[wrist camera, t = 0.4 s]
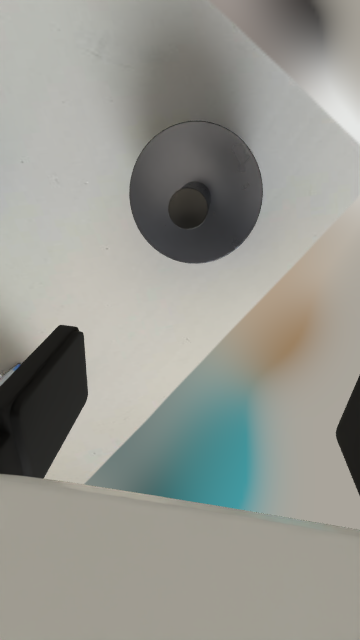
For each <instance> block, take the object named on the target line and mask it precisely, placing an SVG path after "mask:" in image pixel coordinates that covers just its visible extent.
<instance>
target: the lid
mask: <svg viewBox="0 0 360 640" xmlns="http://www.w3.org/2000/svg"><path fill="white" fill-rule="evenodd" d="M129 195H130V205H131V210H132V214H133V217H134V220H135V222H136V225H137V227H138V229H139V230H140V232H141V234H142V235H143V237H144V238H145V239H146V240H147V242H148V243H149V244H150V245H151V246H152V247H153V248H155V249H156V250H157V251H159V252H160V253H161V254H163V255H165V256H167V257H169V258H171V259H173V260H176V261H180V262H184V263H197V264H198V263H207V262H211V261H215V260H217V259H220V258H222V257H224V256H226V255H228V254H230V253H231V252H232V251H234V250H235V249H236V248H238V247H239V246H240V245H241V244H242V243H243V242H244V241H245V239H246V238H247V237H248V236H249V234H250V233H251V231H252V230H253V228H254V226H255V224H256V222H257V219H258V216H259V213H260V209H261V205H262V196H263V188H262V179H261V174H260V170H259V167H258V164H257V162H256V160H255V157H254V156H253V154H252V152H251V151H250V149H249V148H248V146H247V145H246V144H245V143H244V142H243V141H242V140H241V139H240V138H239V137H238V136H237V135H236V134H234V133H233V132H231V131H230V130H228V129H227V128H225V127H222V126H220V125H218V124H214V123H211V122H205V121H188V122H183V123H179V124H176V125H173V126H171V127H169V128H167V129H165V130H163V131H162V132H160V133H159V134H158V135H156V136H155V137H154V138H153V139H152V140H151V141H150V142H149V143H148V144H147V145H146V147H145V148H144V149H143V150H142V152H141V154H140V155H139V157H138V159H137V161H136V163H135V166H134V169H133V172H132V175H131V181H130V193H129Z"/></svg>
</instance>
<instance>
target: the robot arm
mask: <svg viewBox="0 0 360 640" xmlns="http://www.w3.org/2000/svg"><path fill="white" fill-rule="evenodd" d="M87 396H88V388H87V374H86V361H85V347H84V335H83V332H79V330H78V328H77V327H73V326H65V325H59V326H58V327H57V328H56V329H55V330H54V331H53V332H52V333H51V334H50V335H49V336H48V337H47V338H46V339H45V341H44V342H43V343H42V344H41V345H40V346H39V347H38V348H37V349H36V350H35V351H34V352H33V353H32V354H31V355H30V356H29V357H28V358H27V359H26V360H25V361H24V362H23V363H22V364H21V365H20V366H19V367H18V368H17V369H16V370H15V371H14V372H13V373H12V374H11V376H10V377H9V378H8V379H7V380H6V381H5V382H4V383H3V384H2V385H1V386H0V640H360V530H357V529H352V528H346V527H340V526H334V525H328V524H322V523H316V522H310V521H305V520H298V519H293V518H287V517H281V516H275V515H268V514H262V513H257V512H251V511H245V510H239V509H232V508H227V507H220V506H214V505H208V504H202V503H196V502H190V501H184V500H177V499H172V498H165V497H159V496H153V495H147V494H140V493H133V492H127V491H121V490H114V489H109V488H103V487H96V486H90V485H84V484H77V483H70V482H63V481H56V480H49V479H43V478H44V477H45V475H46V473H47V471H48V469H49V468H50V466H51V464H52V462H53V460H54V459H55V457H56V455H57V453H58V451H59V450H60V448H61V446H62V444H63V442H64V441H65V439H66V437H67V435H68V433H69V432H70V430H71V428H72V426H73V424H74V423H75V421H76V419H77V417H78V415H79V414H80V412H81V410H82V408H83V406H84V405H85V403H86V400H87ZM336 437H337V441H338V443H339V446H340V448H341V451H342V453H343V456H344V458H345V461H346V463H347V466H348V468H349V470H350V473H351V475H352V478H353V480H354V483H355V485H356V488H357V490H358V492H359V495H360V376H359V378H358V381H357V383H356V385H355V387H354V390H353V392H352V394H351V397H350V399H349V401H348V404H347V406H346V408H345V410H344V413H343V415H342V417H341V420H340V422H339V424H338V427H337V430H336Z"/></svg>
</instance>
